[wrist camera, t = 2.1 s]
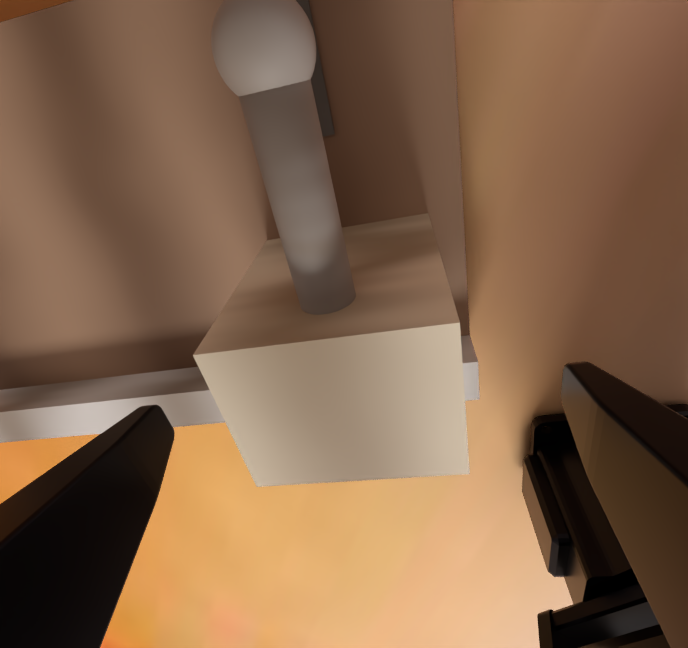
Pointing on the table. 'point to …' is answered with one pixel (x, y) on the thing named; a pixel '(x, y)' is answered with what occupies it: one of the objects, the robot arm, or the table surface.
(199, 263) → the board
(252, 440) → the ball-top joystick
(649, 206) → the table surface
